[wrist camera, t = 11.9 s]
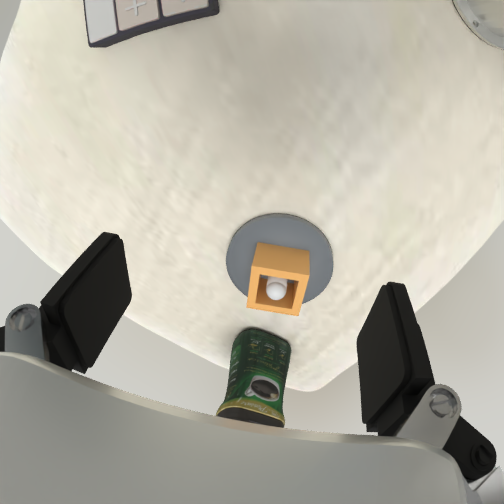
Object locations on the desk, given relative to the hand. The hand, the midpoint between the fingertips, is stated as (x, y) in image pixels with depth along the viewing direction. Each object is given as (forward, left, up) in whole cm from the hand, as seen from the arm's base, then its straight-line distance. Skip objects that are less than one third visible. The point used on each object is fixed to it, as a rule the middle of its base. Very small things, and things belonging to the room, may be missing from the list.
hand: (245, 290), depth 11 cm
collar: (-2, +17, -25) cm, 30 cm away
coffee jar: (-2, +35, -26) cm, 44 cm away
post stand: (-2, +17, -26) cm, 31 cm away
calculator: (+17, -17, -27) cm, 36 cm away
